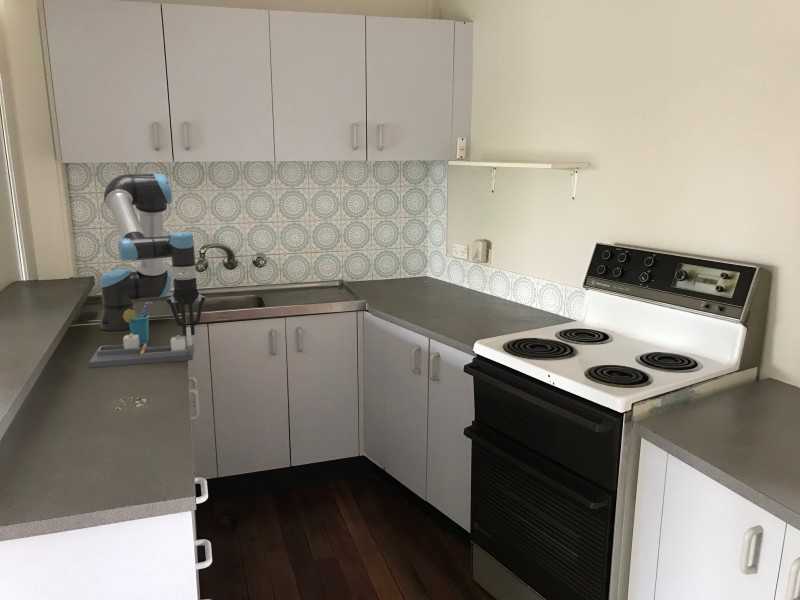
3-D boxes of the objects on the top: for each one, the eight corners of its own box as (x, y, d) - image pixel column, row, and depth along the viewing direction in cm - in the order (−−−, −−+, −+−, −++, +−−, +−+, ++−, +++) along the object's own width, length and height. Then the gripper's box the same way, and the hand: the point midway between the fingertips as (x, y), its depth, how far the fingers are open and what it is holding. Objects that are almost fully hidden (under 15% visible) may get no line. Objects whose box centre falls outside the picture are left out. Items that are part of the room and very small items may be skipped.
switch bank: (97, 355, 238) (96, 346, 237) (194, 348, 245) (193, 339, 244) (89, 367, 224) (88, 357, 224) (192, 360, 232) (191, 350, 231)
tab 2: (172, 351, 235) (171, 335, 234) (186, 350, 236) (185, 334, 235) (171, 354, 231) (170, 338, 230) (185, 353, 232) (184, 337, 231)
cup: (147, 337, 261) (144, 299, 258) (163, 339, 258) (160, 301, 255) (120, 347, 248) (116, 307, 245) (136, 349, 245) (133, 309, 242)
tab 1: (126, 349, 238) (124, 333, 237) (139, 348, 239) (138, 332, 238) (124, 352, 234) (122, 336, 233) (138, 351, 235) (136, 335, 234)
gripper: (163, 280, 224) (169, 348, 229) (204, 278, 227) (208, 345, 232) (165, 276, 231) (171, 342, 236) (204, 274, 234) (209, 340, 239)
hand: (189, 344), depth 234 cm, fingers closed
